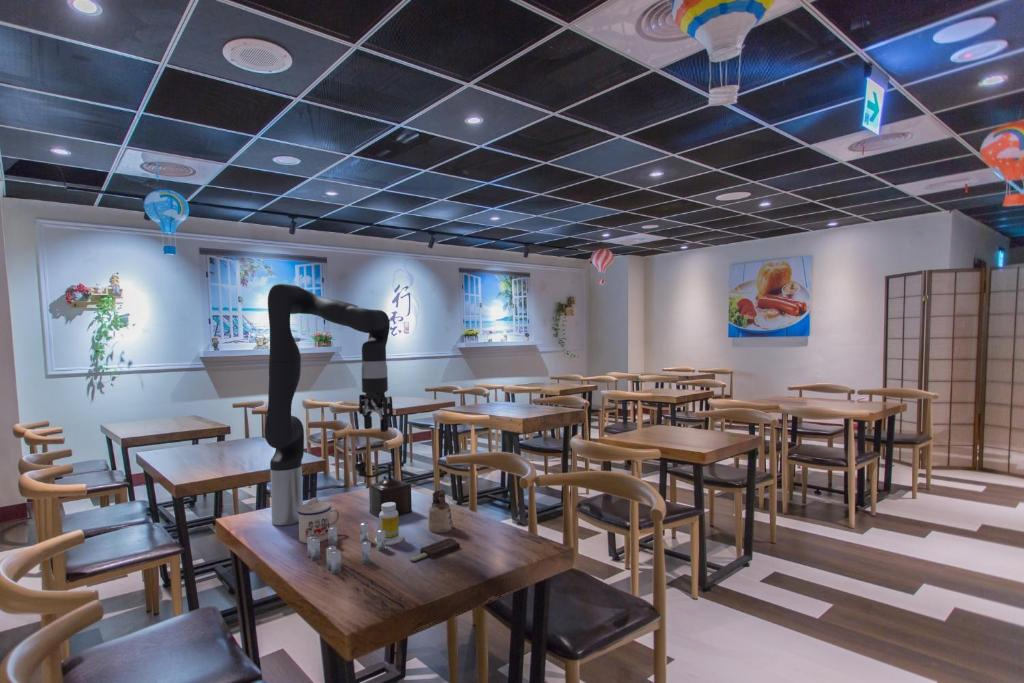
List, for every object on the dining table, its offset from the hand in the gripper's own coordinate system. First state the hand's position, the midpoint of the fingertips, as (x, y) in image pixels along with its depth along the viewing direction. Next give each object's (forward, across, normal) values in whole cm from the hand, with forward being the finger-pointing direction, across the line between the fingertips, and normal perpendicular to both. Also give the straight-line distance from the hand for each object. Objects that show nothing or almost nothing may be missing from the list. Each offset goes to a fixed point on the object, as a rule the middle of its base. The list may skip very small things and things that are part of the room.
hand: (376, 430), depth 159 cm
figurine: (+30, -14, -12) cm, 36 cm away
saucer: (+30, -9, +2) cm, 32 cm away
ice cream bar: (+31, -26, 0) cm, 40 cm away
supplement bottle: (+30, -9, +3) cm, 31 cm away
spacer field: (+30, -8, +15) cm, 35 cm away
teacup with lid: (+30, +9, +14) cm, 35 cm away
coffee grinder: (+30, +11, -9) cm, 34 cm away
